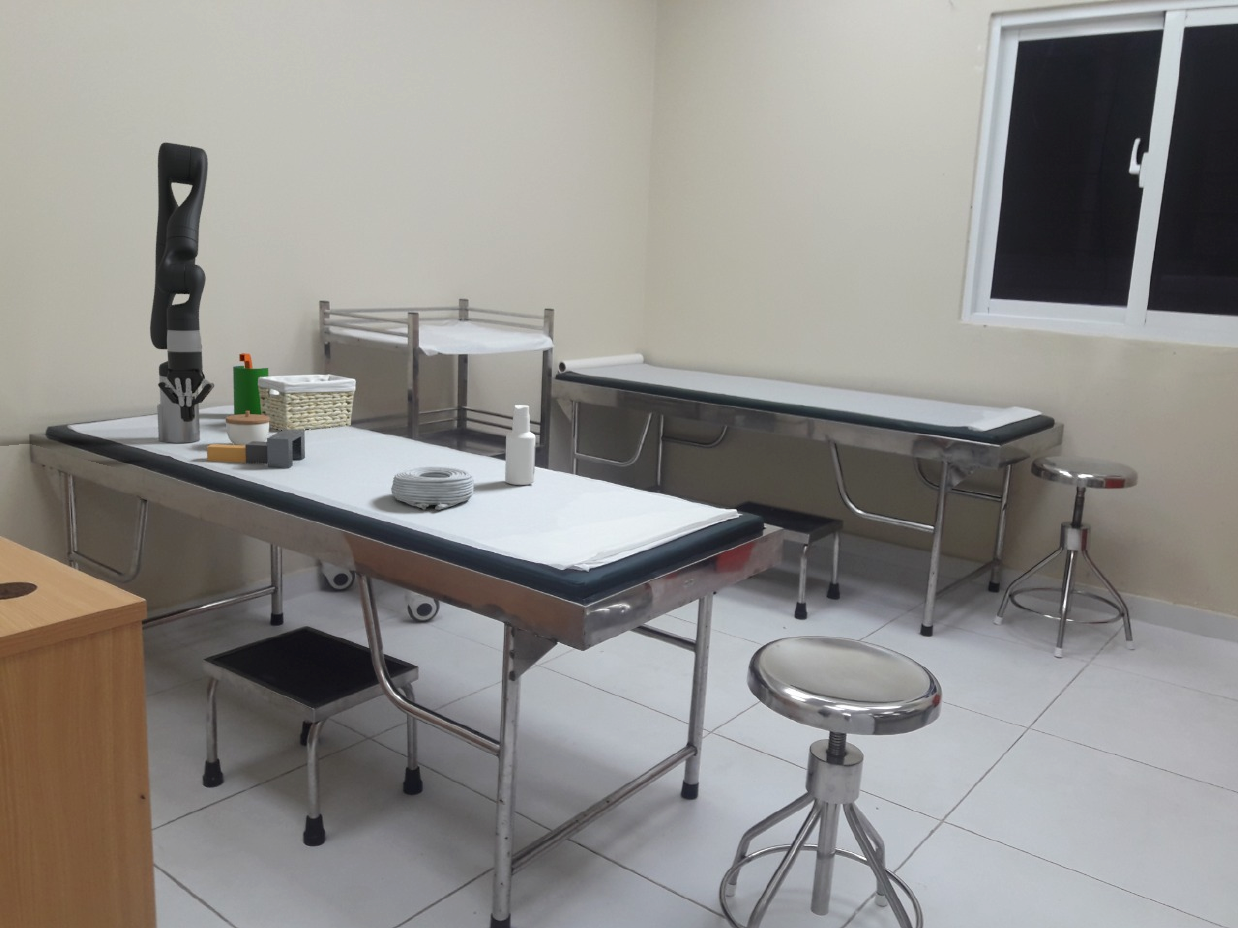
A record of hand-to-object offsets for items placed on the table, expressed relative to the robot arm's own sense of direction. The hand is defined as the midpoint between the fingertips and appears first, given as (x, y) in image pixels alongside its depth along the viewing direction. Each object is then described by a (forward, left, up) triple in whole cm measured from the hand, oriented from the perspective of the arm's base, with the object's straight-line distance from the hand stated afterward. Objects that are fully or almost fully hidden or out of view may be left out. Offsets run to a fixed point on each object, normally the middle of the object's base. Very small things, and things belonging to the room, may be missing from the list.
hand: (188, 421), depth 238 cm
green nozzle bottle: (-6, +62, -9) cm, 63 cm away
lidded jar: (+8, +18, -9) cm, 22 cm away
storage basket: (+14, +52, -10) cm, 55 cm away
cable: (+64, -30, -10) cm, 71 cm away
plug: (+17, 0, -9) cm, 19 cm away
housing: (+23, 0, -9) cm, 25 cm away
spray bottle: (+81, -11, -9) cm, 82 cm away
